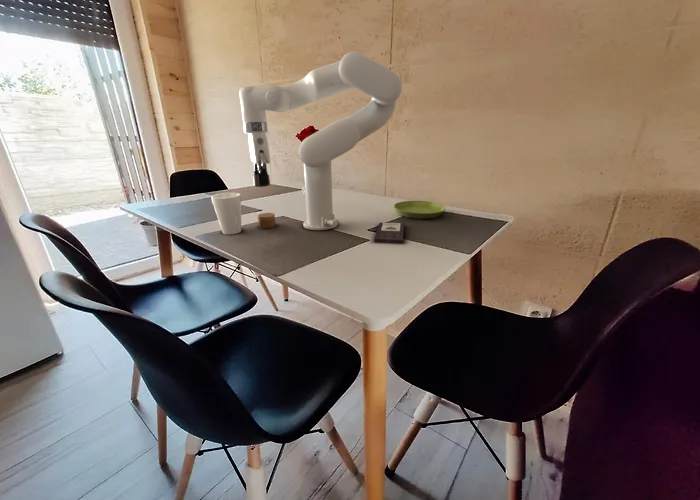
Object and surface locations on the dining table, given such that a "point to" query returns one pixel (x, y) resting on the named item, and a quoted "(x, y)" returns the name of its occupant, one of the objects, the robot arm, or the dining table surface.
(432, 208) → the saucer
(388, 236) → the chocolate bar
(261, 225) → the oak base
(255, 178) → the walnut chip
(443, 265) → the dining table surface
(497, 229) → the dining table surface
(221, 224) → the foam cup
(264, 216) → the oak chip middle
